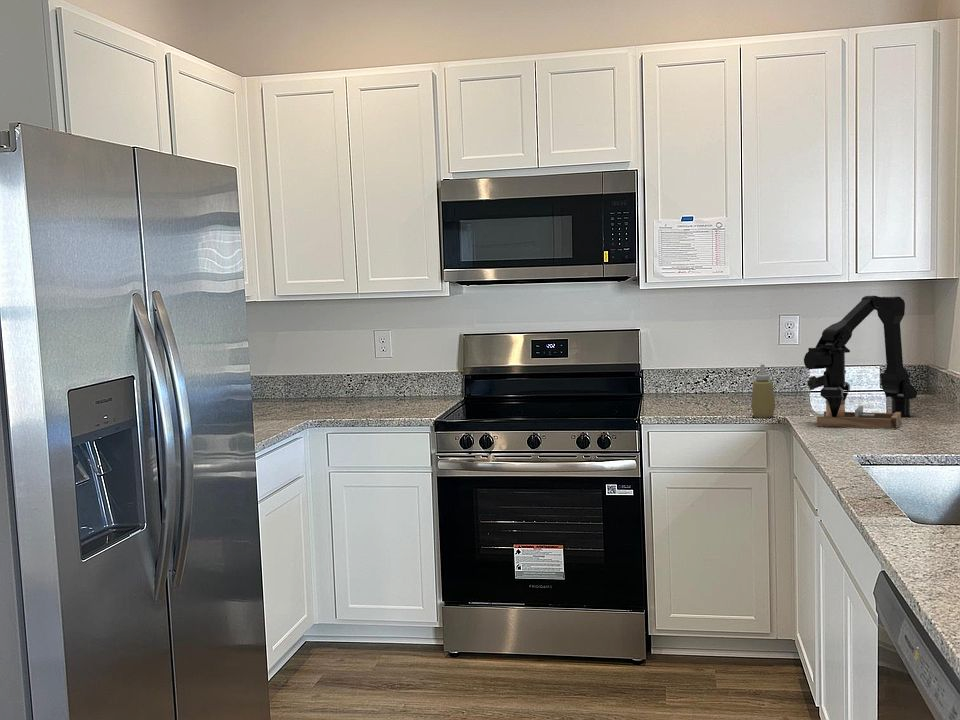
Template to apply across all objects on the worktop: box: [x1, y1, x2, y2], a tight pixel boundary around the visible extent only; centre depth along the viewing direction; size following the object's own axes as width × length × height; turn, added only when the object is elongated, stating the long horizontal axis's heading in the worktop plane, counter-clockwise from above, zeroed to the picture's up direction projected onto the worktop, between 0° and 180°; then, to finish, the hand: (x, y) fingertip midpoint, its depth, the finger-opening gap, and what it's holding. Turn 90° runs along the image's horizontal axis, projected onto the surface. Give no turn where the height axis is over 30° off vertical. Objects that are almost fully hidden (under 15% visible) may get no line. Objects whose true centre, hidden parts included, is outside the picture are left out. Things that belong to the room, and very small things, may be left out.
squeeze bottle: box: [750, 364, 776, 419], centre depth 321 cm, size 8×8×18 cm
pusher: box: [854, 405, 875, 418], centre depth 296 cm, size 10×5×4 cm, turn 150°
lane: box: [816, 410, 902, 430], centre depth 297 cm, size 14×23×4 cm, turn 60°
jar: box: [825, 399, 846, 417], centre depth 300 cm, size 6×6×6 cm
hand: (835, 416), depth 300 cm, fingers closed on jar, 6 cm apart
